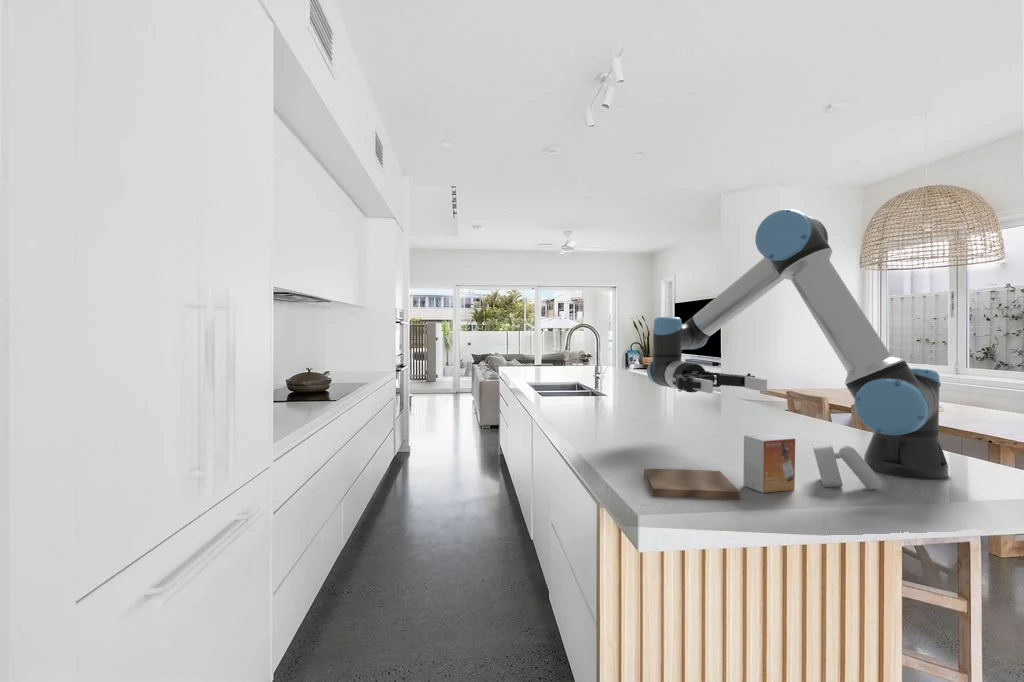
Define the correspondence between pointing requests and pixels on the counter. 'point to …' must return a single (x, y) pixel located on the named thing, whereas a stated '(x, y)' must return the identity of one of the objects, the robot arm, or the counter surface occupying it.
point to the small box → (769, 462)
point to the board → (690, 484)
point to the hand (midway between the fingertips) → (738, 386)
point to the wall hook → (850, 457)
